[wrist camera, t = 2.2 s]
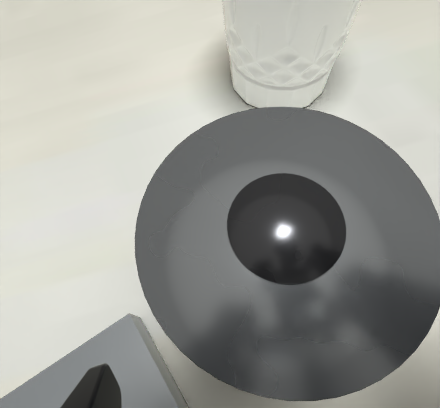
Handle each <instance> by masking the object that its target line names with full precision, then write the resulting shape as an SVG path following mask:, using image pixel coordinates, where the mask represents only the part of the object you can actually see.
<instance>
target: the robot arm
mask: <svg viewBox="0 0 440 408" xmlns="http://www.w3.org/2000/svg"><path fill="white" fill-rule="evenodd" d="M60 408H122V399H121V390H120V386H119V384H118V382H117V380H116V378H115V376H114V374H113V372H112V370H111V368H110V366H109V365H108V364H107V363H103V364H100V365H97V366H94V367H91V368H90V369H88V371H87V372H86V373H85V375H84V376H83V377H82V379H81V380H80V381H79V383H78V384H77V385H76V387H75V388H74V389H73V391H72V392H71V393H70V395H69V396H68V398H67V399H66V400H65V402H64V403H63V404H62V406H61V407H60Z"/></svg>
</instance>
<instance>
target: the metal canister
mask: <svg viewBox="0 0 440 408" xmlns="http://www.w3.org/2000/svg"><path fill="white" fill-rule="evenodd" d="M135 258H136V264H137V270H138V276H139V279H140V283H141V286H142V289H143V292H144V296H145V298H146V300H147V302H148V304H149V306H150V308H151V311H152V313H153V315H154V316H155V318H156V320H157V321H158V323H159V324H160V326H161V327H162V329H163V330H164V332H165V333H166V335H167V336H168V337H169V338H170V339H171V340H172V342H173V343H174V344H175V345H176V346H177V347H178V348H179V350H180V351H181V352H182V353H184V354H185V355H186V356H187V357H188V358H189V359H190V360H192V361H193V362H194V363H195V364H196V365H197V366H199V367H200V368H202V369H203V370H205V371H206V372H208V373H209V374H211V375H212V376H214V377H215V378H217V379H218V380H221V381H223V382H225V383H227V384H229V385H231V386H233V387H235V388H237V389H240V390H242V391H246V392H249V393H252V394H255V395H259V396H262V397H266V398H273V399H279V400H286V401H317V400H323V399H330V398H337V397H340V396H343V395H347V394H350V393H353V392H356V391H359V390H362V389H364V388H366V387H368V386H370V385H372V384H374V383H376V382H378V381H380V380H382V379H383V378H384V377H386V376H387V375H389V374H390V373H391V372H393V371H394V370H395V369H397V368H398V367H400V366H401V365H402V364H403V363H404V362H405V361H406V360H407V359H408V358H409V357H410V356H411V355H412V354H413V353H414V352H415V351H416V349H417V348H418V346H419V345H420V344H421V342H422V341H423V339H424V338H425V336H426V335H427V334H428V332H429V330H430V328H431V326H432V324H433V322H434V320H435V318H436V316H437V314H438V310H439V307H440V220H439V217H438V214H437V211H436V209H435V207H434V205H433V203H432V200H431V198H430V196H429V194H428V193H427V191H426V189H425V188H424V186H423V184H422V183H421V181H420V179H419V178H418V177H417V176H416V174H415V173H414V172H413V170H412V169H411V168H410V167H409V165H408V164H407V163H406V162H405V161H404V160H403V159H402V158H401V157H400V156H399V155H398V154H397V153H396V152H395V151H394V150H393V149H391V148H390V147H389V146H388V145H387V144H385V143H384V142H383V141H382V140H380V139H379V138H377V137H376V136H374V135H373V134H371V133H370V132H368V131H367V130H365V129H363V128H361V127H359V126H357V125H355V124H353V123H351V122H349V121H347V120H344V119H341V118H339V117H336V116H334V115H330V114H327V113H323V112H320V111H316V110H310V109H304V108H296V107H264V108H256V109H249V110H245V111H241V112H237V113H233V114H231V115H228V116H225V117H222V118H220V119H217V120H215V121H213V122H211V123H209V124H207V125H205V126H203V127H202V128H200V129H199V130H197V131H196V132H194V133H192V134H191V135H190V136H188V137H187V138H186V139H185V140H183V141H182V142H181V143H180V144H179V145H177V146H176V147H175V149H174V150H173V151H172V152H171V153H170V154H169V155H168V156H167V157H166V158H165V160H164V161H163V162H162V164H161V165H160V166H159V168H158V169H157V170H156V172H155V174H154V175H153V177H152V179H151V181H150V183H149V184H148V186H147V189H146V191H145V194H144V196H143V199H142V201H141V205H140V209H139V213H138V217H137V223H136V232H135Z"/></svg>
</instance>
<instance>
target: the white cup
mask: <svg viewBox="0 0 440 408" xmlns="http://www.w3.org/2000/svg"><path fill="white" fill-rule="evenodd" d="M361 2H362V0H222V3H223V15H224V25H225V32H226V42H227V50H228V52H229V57H230V72H231V77H232V83H233V88H234V90H235V91H236V92H237V93H238V94H239V95H240V97H241V98H242V99H243V100H244V101H245V102H246V103H248V104H250V105H252V106H254V107H257V108H264V107H296V108H303V107H306V106H308V105H309V104H311V103H312V102H313V101H314V100H315V99H316V98H317V97H318V96H319V95H320V94H321V93H322V92H323V90H324V87H325V85H326V82H327V79H328V77H329V74H330V72H331V69H332V67H333V64H334V62H335V60H336V59H337V57H338V55H339V54H340V51H341V49H342V47H343V45H344V43H345V40H346V38H347V35H348V33H349V31H350V29H351V27H352V24H353V22H354V19H355V17H356V15H357V12H358V10H359V7H360V5H361Z"/></svg>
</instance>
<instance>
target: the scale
mask: <svg viewBox="0 0 440 408" xmlns="http://www.w3.org/2000/svg"><path fill="white" fill-rule="evenodd" d="M103 363H107V364H108V365H109V366H110V368H111V370H112V372H113V374H114V376H115V378H116V380H117V382H118V384H119V386H120V390H121V399H122V408H189V407H188V405H187V404H186V402H185V400H184V398H183V396H182V394H181V392H180V391H179V389H178V387H177V385H176V383H175V381H174V379H173V377H172V376H171V374H170V372H169V370H168V368H167V366H166V364H165V363H164V361H163V359H162V357H161V355H160V353H159V351H158V349H157V348H156V346H155V344H154V342H153V340H152V338H151V336H150V335H149V333H148V331H147V329H146V327H145V325H144V323H143V321H142V320H141V318H140V317H137V316H135V315H132V314H128V315H126V316H125V317H123V318H122V319H120V320H119V321H117V322H116V323H114V324H113V325H111V326H110V327H108V328H107V329H105V330H104V331H102V332H101V333H99V334H98V335H96V336H94V337H93V338H91V339H90V340H88V341H87V342H85V343H84V344H82V345H81V346H79V347H78V348H76V349H75V350H73V351H72V352H70V353H69V354H67V355H66V356H64V357H63V358H61V359H60V360H58V361H57V362H55V363H54V364H52V365H51V366H49V367H48V368H46V369H45V370H43V371H42V372H40V373H39V374H37V375H36V376H34V377H33V378H31V379H30V380H28V381H27V382H25V383H24V384H22V385H21V386H19V387H18V388H16V389H15V390H13V391H12V392H10V393H9V394H7V395H6V396H4V397H3V398H1V399H0V408H60V407H61V406H62V404H63V403H64V402H65V400H66V399H67V398H68V396H69V395H70V393H71V392H72V391H73V389H74V388H75V387H76V385H77V384H78V383H79V381H80V380H81V379H82V377H83V376H84V375H85V373H86V372H87V371H88V369H90V368H91V367H94V366H97V365H100V364H103Z"/></svg>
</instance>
